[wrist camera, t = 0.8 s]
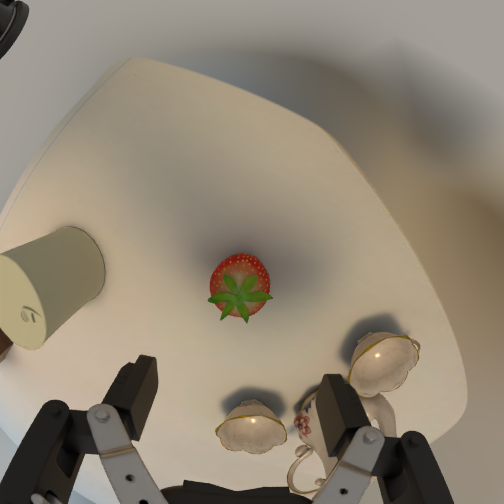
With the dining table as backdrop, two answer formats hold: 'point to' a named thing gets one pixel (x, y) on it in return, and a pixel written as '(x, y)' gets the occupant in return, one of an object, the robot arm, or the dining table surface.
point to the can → (47, 284)
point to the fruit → (240, 286)
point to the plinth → (4, 345)
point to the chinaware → (306, 421)
